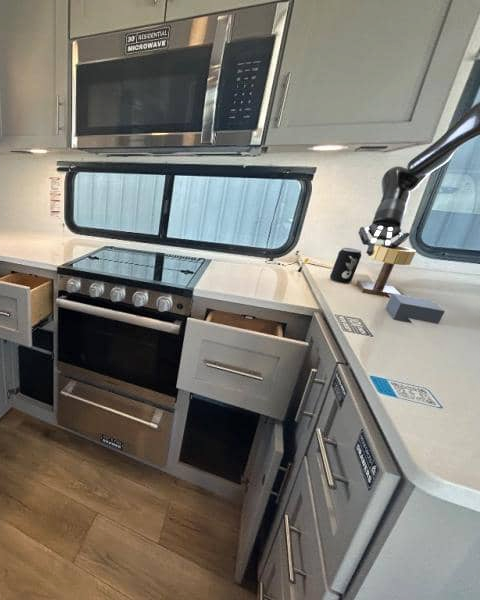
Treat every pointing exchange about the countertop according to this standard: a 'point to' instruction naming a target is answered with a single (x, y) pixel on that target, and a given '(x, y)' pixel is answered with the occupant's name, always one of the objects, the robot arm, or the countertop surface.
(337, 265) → the black printed box
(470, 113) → the robot arm
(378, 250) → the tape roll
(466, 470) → the countertop surface
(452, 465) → the countertop surface
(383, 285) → the stand
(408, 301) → the block
